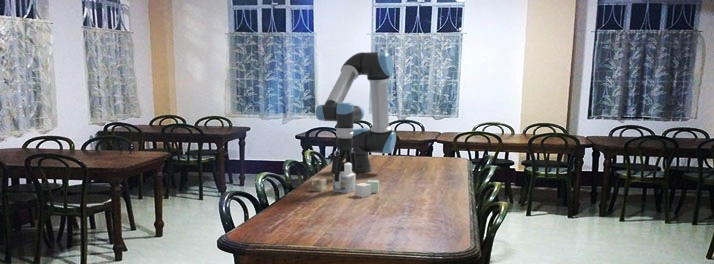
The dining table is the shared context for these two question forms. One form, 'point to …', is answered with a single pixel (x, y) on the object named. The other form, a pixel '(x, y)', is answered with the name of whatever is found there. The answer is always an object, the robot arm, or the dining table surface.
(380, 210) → the dining table surface
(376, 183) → the sage cube
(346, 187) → the container
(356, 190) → the cream cube
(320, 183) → the beech cube
